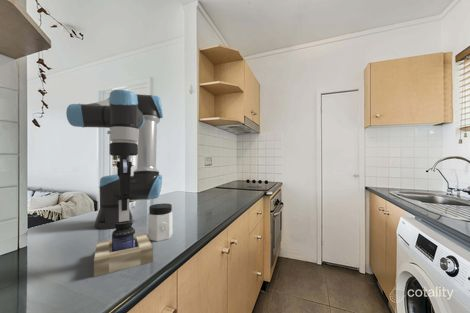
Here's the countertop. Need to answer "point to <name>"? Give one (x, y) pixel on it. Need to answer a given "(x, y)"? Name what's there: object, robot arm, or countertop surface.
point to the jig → (122, 256)
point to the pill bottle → (123, 236)
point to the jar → (160, 222)
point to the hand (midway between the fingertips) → (124, 220)
